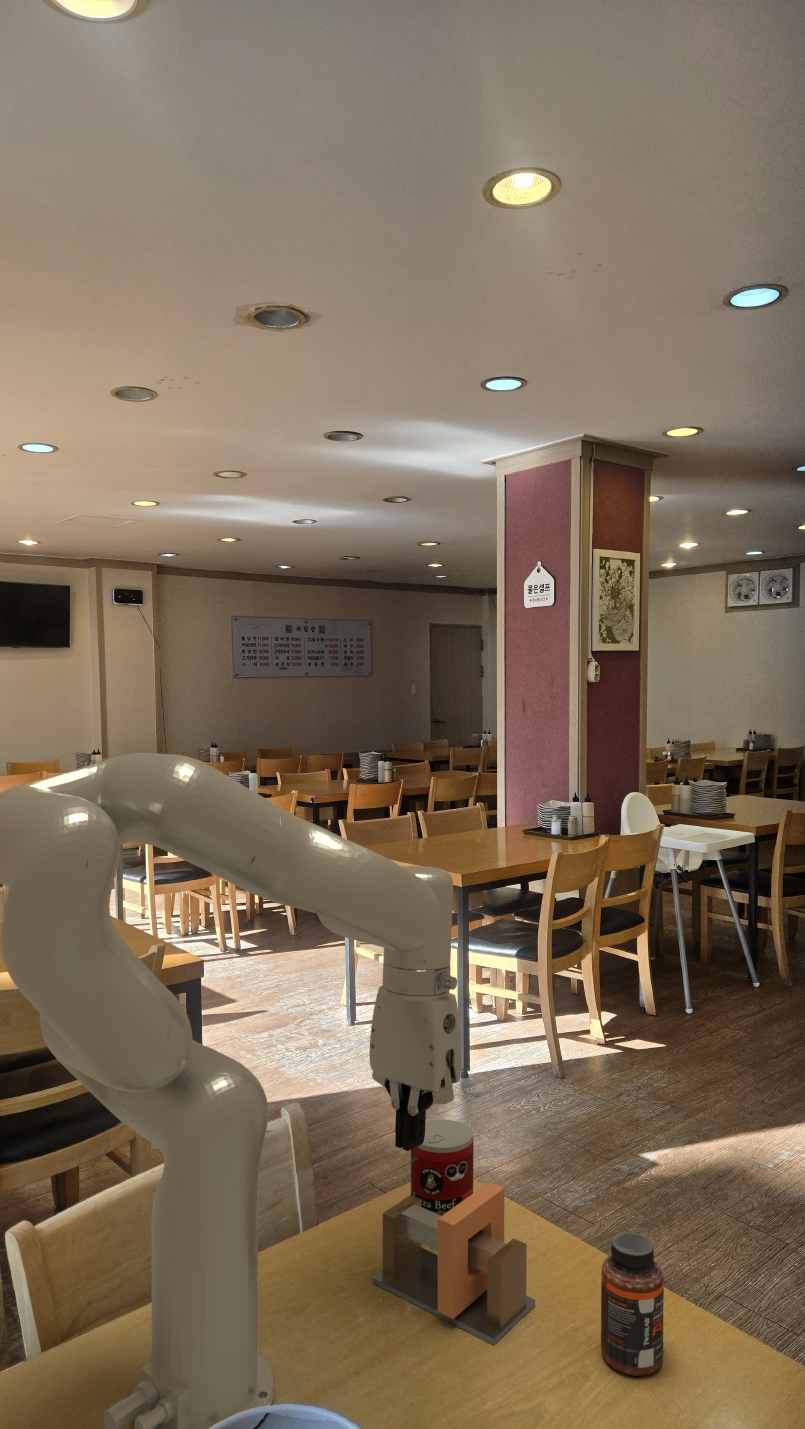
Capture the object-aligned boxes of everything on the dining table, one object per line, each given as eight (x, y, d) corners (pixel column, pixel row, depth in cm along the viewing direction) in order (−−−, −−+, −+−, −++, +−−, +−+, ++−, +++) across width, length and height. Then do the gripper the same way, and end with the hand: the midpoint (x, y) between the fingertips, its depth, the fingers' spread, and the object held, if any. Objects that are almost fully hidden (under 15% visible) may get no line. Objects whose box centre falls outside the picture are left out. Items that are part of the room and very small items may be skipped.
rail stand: (372, 1282, 103) (372, 1216, 103) (416, 1250, 109) (417, 1187, 109) (494, 1345, 93) (494, 1271, 93) (535, 1305, 99) (535, 1236, 99)
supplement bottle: (665, 1384, 88) (666, 1264, 88) (601, 1374, 89) (601, 1256, 89) (661, 1341, 94) (661, 1229, 94) (600, 1333, 95) (601, 1223, 95)
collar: (437, 1310, 96) (437, 1218, 96) (488, 1267, 104) (489, 1182, 104) (453, 1318, 95) (453, 1225, 95) (504, 1274, 103) (504, 1187, 103)
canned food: (401, 1230, 113) (401, 1140, 113) (424, 1198, 121) (425, 1114, 121) (460, 1244, 110) (460, 1152, 110) (481, 1211, 118) (481, 1124, 118)
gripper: (490, 986, 102) (484, 1155, 102) (386, 961, 112) (380, 1116, 111) (450, 999, 96) (443, 1178, 96) (344, 972, 106) (337, 1135, 105)
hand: (409, 1144), depth 103 cm, fingers closed
